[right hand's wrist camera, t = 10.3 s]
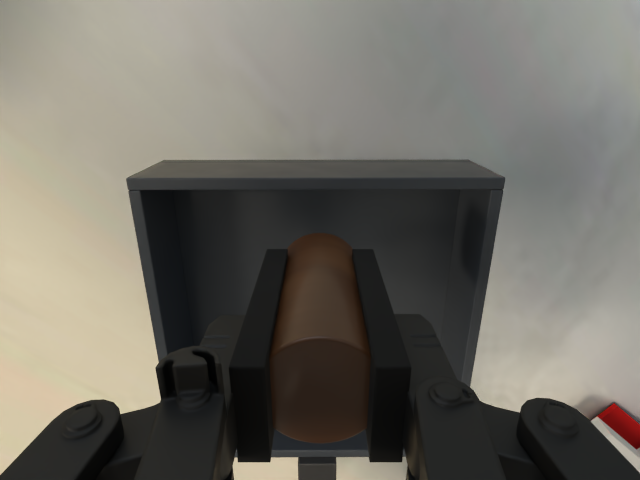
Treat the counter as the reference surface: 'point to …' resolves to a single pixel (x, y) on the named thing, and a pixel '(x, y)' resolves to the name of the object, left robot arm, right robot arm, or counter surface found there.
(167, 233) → the tray
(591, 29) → the counter surface
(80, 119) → the counter surface
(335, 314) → the peg
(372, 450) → the right robot arm
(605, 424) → the toy
